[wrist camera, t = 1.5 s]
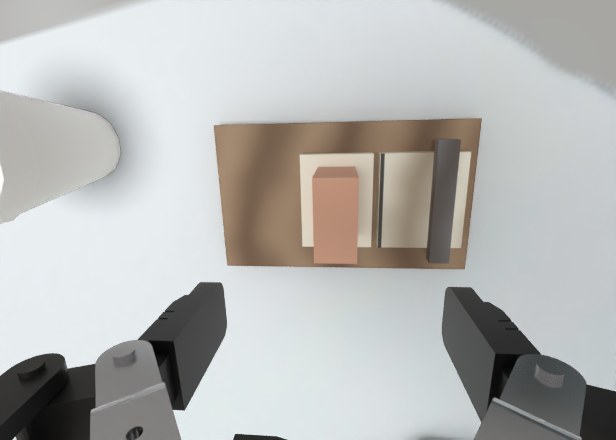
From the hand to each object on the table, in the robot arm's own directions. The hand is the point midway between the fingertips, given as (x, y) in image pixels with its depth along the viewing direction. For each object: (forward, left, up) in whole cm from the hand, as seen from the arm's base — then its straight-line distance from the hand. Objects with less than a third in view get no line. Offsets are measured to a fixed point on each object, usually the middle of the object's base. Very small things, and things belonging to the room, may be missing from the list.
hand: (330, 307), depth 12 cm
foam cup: (+23, -5, -20) cm, 31 cm away
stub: (0, 0, -18) cm, 18 cm away
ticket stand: (-1, 0, -20) cm, 20 cm away
